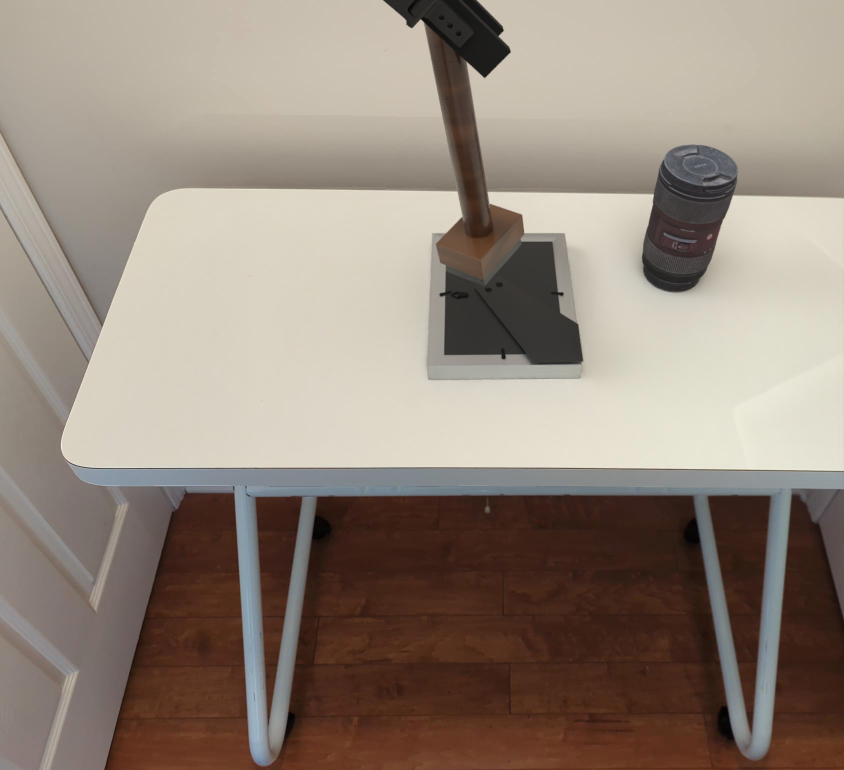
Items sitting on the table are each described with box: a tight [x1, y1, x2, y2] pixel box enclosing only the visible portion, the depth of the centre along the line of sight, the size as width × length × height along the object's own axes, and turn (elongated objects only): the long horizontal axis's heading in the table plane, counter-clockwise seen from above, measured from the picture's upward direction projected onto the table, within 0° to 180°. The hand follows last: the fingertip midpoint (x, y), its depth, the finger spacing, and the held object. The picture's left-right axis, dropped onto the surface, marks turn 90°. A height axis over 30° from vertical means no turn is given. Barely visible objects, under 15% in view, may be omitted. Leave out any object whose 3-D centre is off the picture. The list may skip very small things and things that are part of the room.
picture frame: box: [426, 232, 584, 380], centre depth 83 cm, size 16×3×21 cm
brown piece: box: [423, 22, 526, 286], centre depth 56 cm, size 7×5×40 cm
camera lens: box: [641, 144, 739, 293], centre depth 83 cm, size 8×8×15 cm
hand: (493, 51), depth 56 cm, fingers closed on brown piece, 3 cm apart
